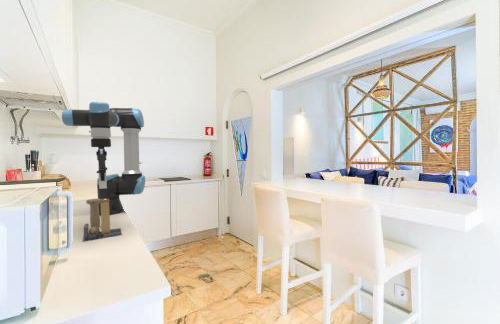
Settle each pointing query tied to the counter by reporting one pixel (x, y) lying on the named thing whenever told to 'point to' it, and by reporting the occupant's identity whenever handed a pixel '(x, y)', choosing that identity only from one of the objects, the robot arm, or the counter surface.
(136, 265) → the counter surface
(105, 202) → the lever
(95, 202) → the handle
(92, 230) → the round brown knob
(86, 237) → the slotted metal plate
